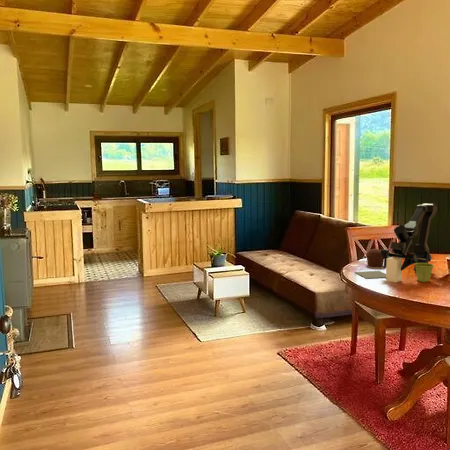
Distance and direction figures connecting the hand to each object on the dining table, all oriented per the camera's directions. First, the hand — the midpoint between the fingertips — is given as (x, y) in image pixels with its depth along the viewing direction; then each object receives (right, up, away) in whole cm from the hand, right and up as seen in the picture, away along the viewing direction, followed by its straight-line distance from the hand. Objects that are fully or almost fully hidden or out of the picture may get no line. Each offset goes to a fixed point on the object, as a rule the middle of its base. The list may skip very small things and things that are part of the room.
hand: (392, 268), depth 236 cm
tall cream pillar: (+1, -6, +2) cm, 7 cm away
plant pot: (+16, -7, +1) cm, 18 cm away
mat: (-6, -5, +15) cm, 17 cm away
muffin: (+4, -2, +40) cm, 40 cm away
